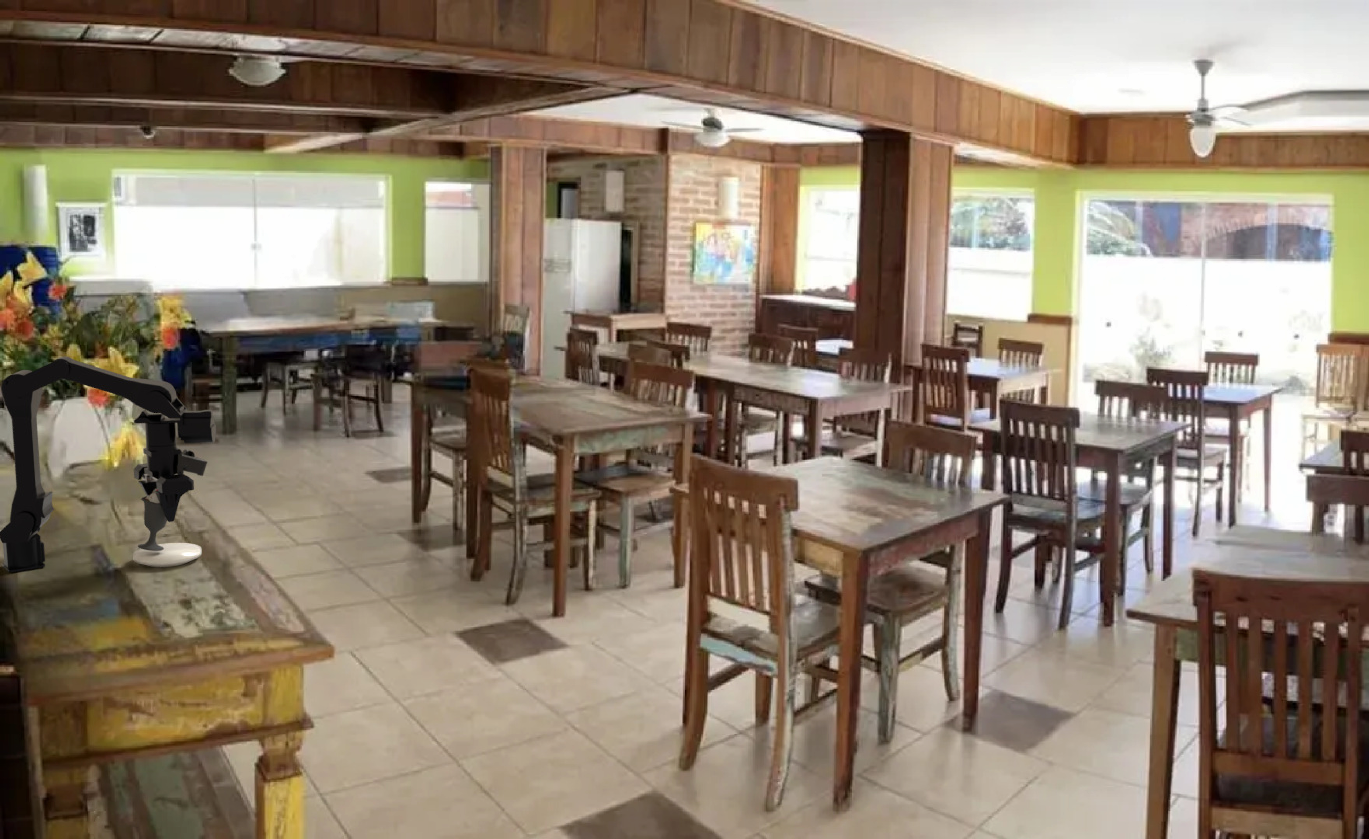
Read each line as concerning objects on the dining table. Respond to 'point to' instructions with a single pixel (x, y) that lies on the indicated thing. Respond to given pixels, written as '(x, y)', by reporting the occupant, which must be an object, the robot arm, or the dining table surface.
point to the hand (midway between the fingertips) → (165, 518)
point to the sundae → (153, 520)
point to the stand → (168, 555)
